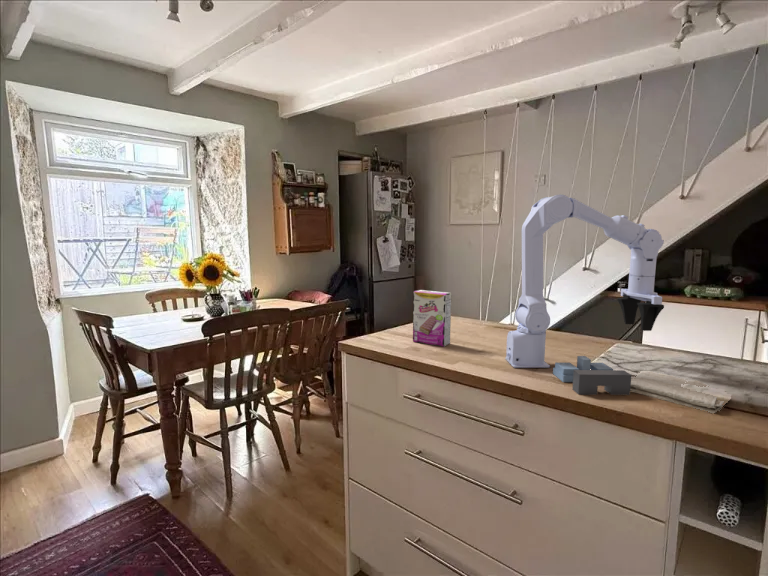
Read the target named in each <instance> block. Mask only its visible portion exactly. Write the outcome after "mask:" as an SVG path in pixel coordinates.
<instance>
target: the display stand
mask: <svg viewBox="0 0 768 576" xmlns="http://www.w3.org/2000/svg"><path fill="white" fill-rule="evenodd" d="M576 359H577V361H576V366H575V365H574V364H572V362H557V361H556V362H555V363H554V367H553V368H552V374H553V375H554V376H555V377H556V378H557V379H559V381H561V382H562V383H573V372H574V370H590V369H591V370H614V368H613V367H611V366H610V365H608V364H606V363H604V362H592V361H591V360H592V359H591V358H589V357H587V356H585V355H577V357H576Z"/></svg>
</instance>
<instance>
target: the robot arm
mask: <svg viewBox="0 0 768 576" xmlns="http://www.w3.org/2000/svg"><path fill="white" fill-rule="evenodd" d="M530 209H531V210H530V212H529V213H528V215H527V216H526V218H525V220H524V221H523V223H522V226H521V295H520V297H519V298H518V306H517V308H516V310H515V313H514V314H515V320H516V321H517V323H518V325H517V327H516V330H510V331H507V336H506V350H505V351H506V353H505V354H506V355H505V360H506V361H507V362H508V363H509V365H511V367H513V368H521V369H522V368H523V369H524V368H525V369H526V368H527V369H528V368H531V369H532V368H533V369H534V368H539V369H540V368H543V369H544V368H545V369H546V368H551V365H550V364H548V363H547V361H545V359H546V357H545V356H546V354H545V353H546V338H547V337H546V336H547V329H548V328H549V327H550V324H551V317H550V314H549V312H548V310H547V302H546V300H545V298H544V297H545V296H544V234H545V233H546V232H548V231H549V229H550V228H551V227H553V226H554V225H555V224H558V223H560V222H563V221H565V219H570V218H575V219H578V220H581V221H583V222H585V223H587V224H590V225H593V226H594V227H597V228H601V229H603V233H604V235H605V236H606V237H607V238H610V239H613V240H615V241H617V242H620V243H622V244H623V245H625V246H627V247H628V248H629V250H630V260H629V275H628V283H627V284H628V285H627V286H628V287H627V288H621V289H620V296H621V297H617V302H618V304H619V306H620V308H621V311H622V316H623V322H624V324H625V325H635V321H636V317H637V311H638V309H639V313H640V328H641V331H643V332H651V331H652V330H653V328H654V325H655V322H656V321H657V318H658V316H659V314H661V312H662V311H663V310H664V308H665V305H664V304H663V296H660V295H658V292H655V280H656V279H655V278H656V267H657V259H658V256H659V251H660V249H662V247H663V246H664V242H665V241H664V239H662V238H663V237H662V234H661V233H660V232H659V231H658V230H656V229H654V228H646V227H645V224H643V223H636V222H634V221H632V220H630V219H629V216H627V215H625V214H623V215H614V216H612V217H611V216H609V215H607V214H605V213H603V212H602V211H599V210H598V209H596V208H593V207H592V206H590V205H587V204H585V203H583V202H582V201H580V200H578V199H576V198H573V197H569V196H567V195H566V194H561V193H560V194H555V195H553V196H547V197H542V198H540V199H539V200H538V201H536V202H535V203H534V204H533V205H532V206H531V208H530ZM642 301H643V302H642Z"/></svg>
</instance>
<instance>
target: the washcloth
mask: <svg viewBox="0 0 768 576" xmlns="http://www.w3.org/2000/svg"><path fill="white" fill-rule="evenodd" d="M639 372H640V373H639ZM639 372H637V373H638V375H637V376H636V375H635V376H636V377H635V376H633V378H632V377H631V387H630V393H631V392H632V393H635V394H640V395H642V396H647V397H651V398H654V399H659V400H662V401H665V402H670V403H674V404H677V405H681V406H684V405H685V407H687V406H688V408H691V407H693V408H692V409H695V408H696V410H698V409H700V411H702V410H705V411H708V412H707V413H709V412H710V413H709V414H713V413H715V414H716V413H717V411H719V412H721V411H722V410H723V409H722V407H723V406H724V405H722V404H723V403H724V401H720V400H717V397H715V396H713V395H710V394H705V393H702V392H697V391H690V389H687V388H683V387H681V384H683V385H684V384H690V385H696V386H698V387H699V386H700V387H703V386H704V387H706V386H707V385H708V384H706V383H703V382H702V381H701V380H694V379H690V380H691V381H688V382H687V381H686V380H689V379H688V378H682V377H679V376H675V375H671V374H666V373H660V372H655V371H652V370H640V371H639ZM684 379H685V380H684ZM685 382H686V383H685ZM709 386H710V385H709ZM709 386H708V387H709ZM724 407H725V406H724ZM724 407H723V408H724ZM721 409H722V410H721ZM720 410H721V411H720ZM705 411H704V412H705Z"/></svg>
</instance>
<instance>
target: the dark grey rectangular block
mask: <svg viewBox="0 0 768 576" xmlns="http://www.w3.org/2000/svg"><path fill="white" fill-rule="evenodd" d="M631 378H632V374H631V373H629V372H628V371H626V370H621V369H619V370H615V369H613V370H574V372H573V382H572V390H573V392H575V393H576V394H577V395H579V396H580V395H583V396H586V395H589V396H592V395H593V396H597V395H598V387H604V388H603V390H604V391H605V392H606V393H608V394H610V396H630V395H631V391H630V387H631Z"/></svg>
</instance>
